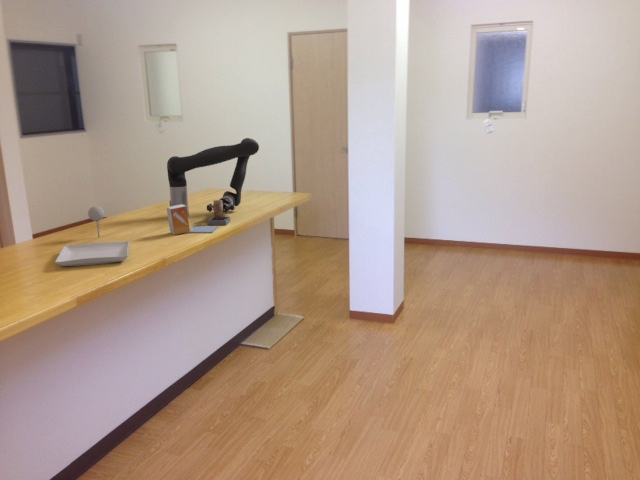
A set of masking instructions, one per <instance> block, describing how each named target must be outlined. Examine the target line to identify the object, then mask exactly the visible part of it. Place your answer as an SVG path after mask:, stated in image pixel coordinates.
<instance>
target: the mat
mask: <svg viewBox="0 0 640 480" xmlns="http://www.w3.org/2000/svg"><path fill="white" fill-rule="evenodd" d="M218 228H219V225H205V226H204V225H202V226H201V225H198V226H197V225H196V226H193V227H192V228H191V229H190V232H187V233H188V234H212V233H215V231H216V230H218Z"/></svg>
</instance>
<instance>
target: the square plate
mask: <svg viewBox="0 0 640 480" xmlns="http://www.w3.org/2000/svg"><path fill="white" fill-rule="evenodd" d="M130 245H131V241H129V240H126V241H124V240H123V241H104V242H103V241H102V242H100V241H99V242H89V243H88V242H87V243H77V244H68V245H64V246H63V247H62V248H61V250H60V252H59V253H58V255H57V258H56V259H55V261H54V263H56V264H57V265H59V266H61V267H63V266H64V267H81V266H91V265H102V264H113V263H117V262H118V263H119V262H123V261H125V260H126V259H127V258H128V257H129V253H130V252H129V251H130V250H129V249H130Z"/></svg>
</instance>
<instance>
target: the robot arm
mask: <svg viewBox="0 0 640 480" xmlns="http://www.w3.org/2000/svg"><path fill="white" fill-rule="evenodd" d="M259 150H260V145H259V143H258V142H257V141H256V140H255V139H253V138H249V137H246V138H243V139H242V140H241V142H239V143H236V144H231V145H229V144H228V145H221V146H220V145H218V146H213V147H209V148H206V149H203V150H202V151H199V152H196V153H195V154H192V155H191V154H190V155H187V156H175V155H174V156H172V157H170V158H169V159H168V160H167V163H166V170H167V178H168V183H169V196H170V200H169V201H168V202H169V207H171V206H175V205H181V204H183V205H185V206H186V208H187V214H188V217H189V216H190V212H189V199H188V186H187V179H186V172H188V171H191V170H195V169H199V168H204V167H210V166H213V165H218V164H222V163H225V162H228V161H231V160H234V159H236V164H235V168H234V171H233V174H232V177H231V181H230V183H229V187H230V188H231V189H233V190H234V191H235V193H234V192H232V191H228V190H227V191H225V192H224V193H223V194H222V197H221V198H220V199H218V200H222V201H223V213H227V212H229V211H234V210H235V209H236V207H238V206H239V205H240V203H241V202H242V188H243V185H244V183H245V179H246V176H247V175H246V174H247V166H248V161H249V160H250V159H249V158H250V156H254V155H256V154H257V153H258V152H259ZM206 210H207V211H208V212H209V213H211V212H212V211H213V212H214V203H208V204H207V205H206Z"/></svg>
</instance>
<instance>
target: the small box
mask: <svg viewBox="0 0 640 480" xmlns="http://www.w3.org/2000/svg"><path fill="white" fill-rule="evenodd" d="M166 213H167V219H168V225H169V231H170V234H172V235H174V236H176V235H180V234H184V233H188V232H190V230H191V229H190V224H189V223H190V222H189V216H188V214H187V208H186V206H185V205H183V204H181V205H175V206H171V207H170V206H167V207H166Z"/></svg>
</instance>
